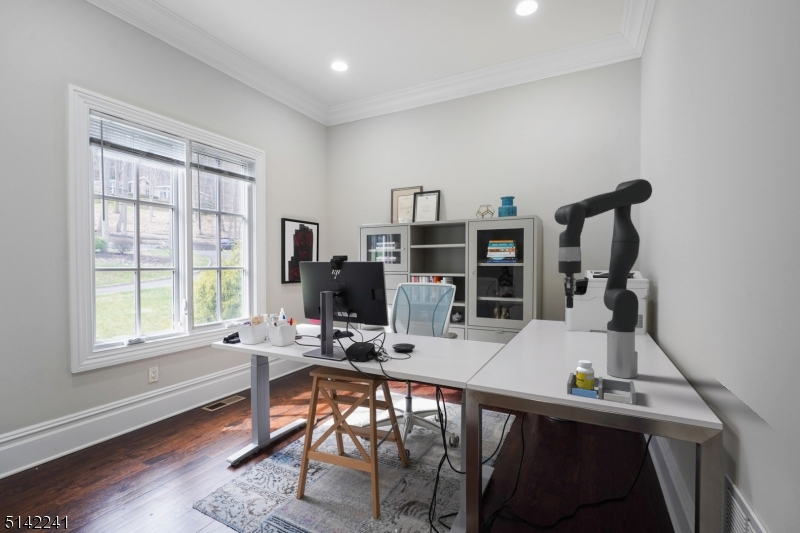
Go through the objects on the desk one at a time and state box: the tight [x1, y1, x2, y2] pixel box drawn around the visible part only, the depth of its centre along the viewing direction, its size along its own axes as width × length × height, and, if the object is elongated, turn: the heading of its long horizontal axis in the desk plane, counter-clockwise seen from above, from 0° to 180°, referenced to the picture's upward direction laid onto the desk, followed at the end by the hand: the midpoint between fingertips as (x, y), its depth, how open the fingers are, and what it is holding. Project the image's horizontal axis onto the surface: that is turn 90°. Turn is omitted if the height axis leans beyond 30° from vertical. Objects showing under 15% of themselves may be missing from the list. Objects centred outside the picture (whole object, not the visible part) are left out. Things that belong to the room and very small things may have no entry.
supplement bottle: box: [575, 359, 595, 391], centre depth 122 cm, size 5×5×10 cm
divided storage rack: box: [566, 372, 637, 406], centre depth 119 cm, size 19×13×4 cm
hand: (569, 307), depth 130 cm, fingers closed
